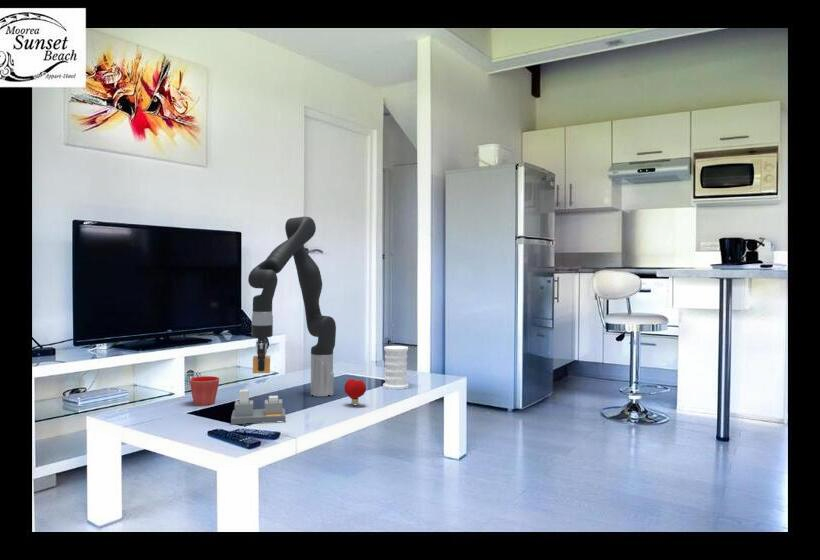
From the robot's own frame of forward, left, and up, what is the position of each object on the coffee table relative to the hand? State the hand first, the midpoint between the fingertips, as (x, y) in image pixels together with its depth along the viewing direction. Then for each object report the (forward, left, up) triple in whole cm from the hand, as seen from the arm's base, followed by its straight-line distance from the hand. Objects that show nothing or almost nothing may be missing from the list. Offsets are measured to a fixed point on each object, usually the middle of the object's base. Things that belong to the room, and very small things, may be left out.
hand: (261, 369), depth 217 cm
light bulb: (-35, -4, -16) cm, 39 cm away
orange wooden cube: (0, 0, -1) cm, 1 cm away
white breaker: (-4, +10, -14) cm, 18 cm away
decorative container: (-58, -36, -16) cm, 70 cm away
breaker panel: (+1, +10, -16) cm, 19 cm away
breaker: (+6, +10, -11) cm, 16 cm away
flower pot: (+22, -18, -16) cm, 33 cm away
